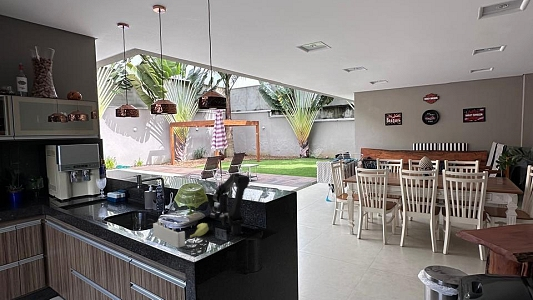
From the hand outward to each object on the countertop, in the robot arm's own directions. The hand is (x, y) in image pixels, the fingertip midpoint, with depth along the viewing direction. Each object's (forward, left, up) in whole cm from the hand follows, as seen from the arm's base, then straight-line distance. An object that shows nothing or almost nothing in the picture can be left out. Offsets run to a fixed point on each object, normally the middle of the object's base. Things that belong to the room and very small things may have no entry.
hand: (223, 225), depth 201 cm
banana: (+3, +18, -2) cm, 19 cm away
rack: (+4, +39, -2) cm, 39 cm away
